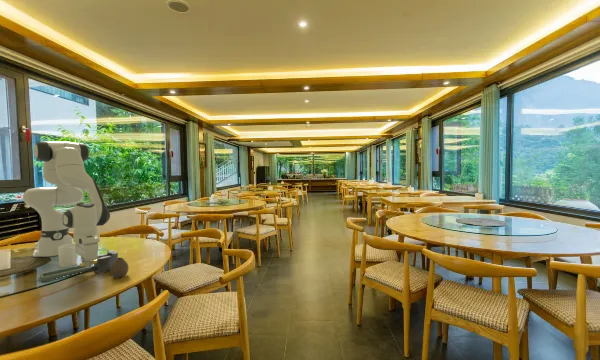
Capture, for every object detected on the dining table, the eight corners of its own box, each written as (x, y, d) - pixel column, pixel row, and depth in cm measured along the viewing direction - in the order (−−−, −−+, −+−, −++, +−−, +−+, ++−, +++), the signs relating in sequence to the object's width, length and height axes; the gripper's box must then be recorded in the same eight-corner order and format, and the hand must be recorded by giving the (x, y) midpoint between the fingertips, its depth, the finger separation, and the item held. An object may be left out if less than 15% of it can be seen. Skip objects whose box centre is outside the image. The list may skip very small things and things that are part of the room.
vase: (131, 275, 125) (131, 256, 124) (117, 280, 118) (117, 261, 118) (121, 272, 127) (121, 255, 127) (106, 278, 120) (106, 259, 120)
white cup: (66, 268, 131) (66, 248, 131) (53, 266, 133) (53, 247, 133) (82, 262, 139) (82, 244, 139) (70, 261, 141) (70, 243, 140)
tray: (39, 278, 119) (39, 273, 119) (89, 267, 133) (89, 263, 133) (42, 282, 115) (42, 277, 115) (93, 270, 129) (93, 266, 129)
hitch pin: (81, 267, 122) (80, 263, 122) (79, 267, 123) (79, 263, 123) (115, 259, 133) (115, 255, 133) (114, 258, 134) (114, 254, 134)
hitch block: (93, 269, 130) (93, 253, 130) (112, 265, 136) (112, 250, 136) (98, 273, 126) (98, 256, 125) (117, 268, 132) (117, 252, 132)
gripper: (71, 234, 128) (71, 262, 128) (83, 242, 115) (83, 272, 116) (87, 232, 133) (87, 259, 133) (100, 239, 120) (100, 268, 121)
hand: (85, 265), depth 124 cm, fingers closed on hitch pin, 2 cm apart
